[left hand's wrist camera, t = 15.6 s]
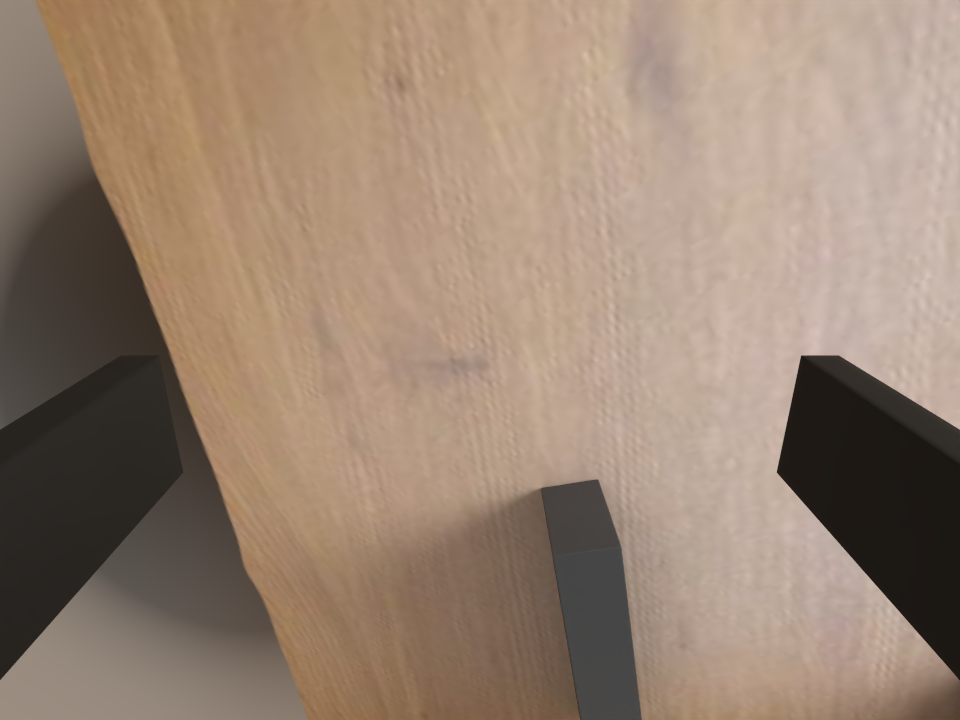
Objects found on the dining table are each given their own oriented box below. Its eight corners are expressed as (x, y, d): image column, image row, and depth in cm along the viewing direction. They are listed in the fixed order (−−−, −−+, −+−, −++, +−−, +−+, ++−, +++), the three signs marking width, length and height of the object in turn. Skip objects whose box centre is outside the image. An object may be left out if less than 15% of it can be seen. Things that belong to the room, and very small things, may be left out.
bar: (540, 487, 47) (552, 556, 39) (598, 479, 46) (621, 546, 39) (580, 716, 56) (595, 808, 48) (627, 710, 56) (651, 801, 48)
